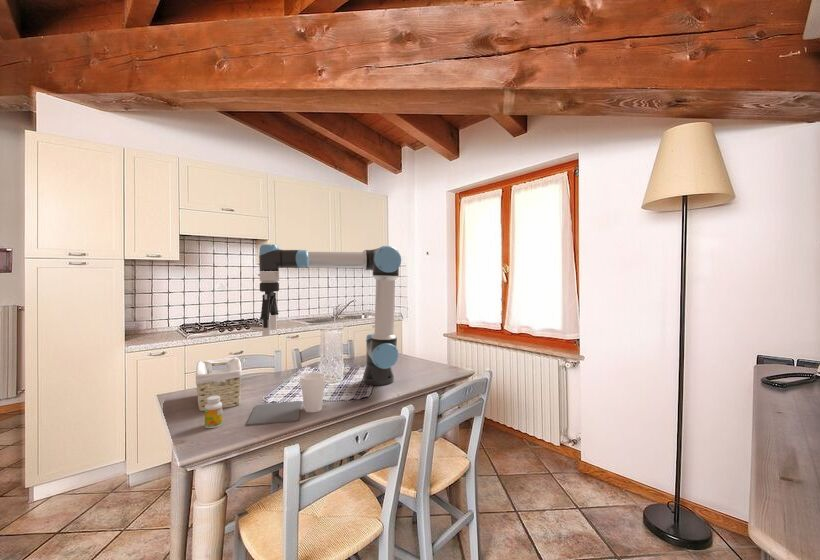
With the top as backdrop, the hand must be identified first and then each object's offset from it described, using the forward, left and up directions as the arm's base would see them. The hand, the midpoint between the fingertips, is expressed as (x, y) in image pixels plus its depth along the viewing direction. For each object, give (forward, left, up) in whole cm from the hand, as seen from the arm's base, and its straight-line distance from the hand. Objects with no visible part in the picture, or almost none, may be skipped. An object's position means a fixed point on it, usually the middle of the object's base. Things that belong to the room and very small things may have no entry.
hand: (269, 332), depth 148 cm
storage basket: (+20, -3, -28) cm, 35 cm away
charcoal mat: (-4, +17, -28) cm, 33 cm away
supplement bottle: (+15, +23, -28) cm, 39 cm away
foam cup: (-18, +16, -28) cm, 37 cm away
